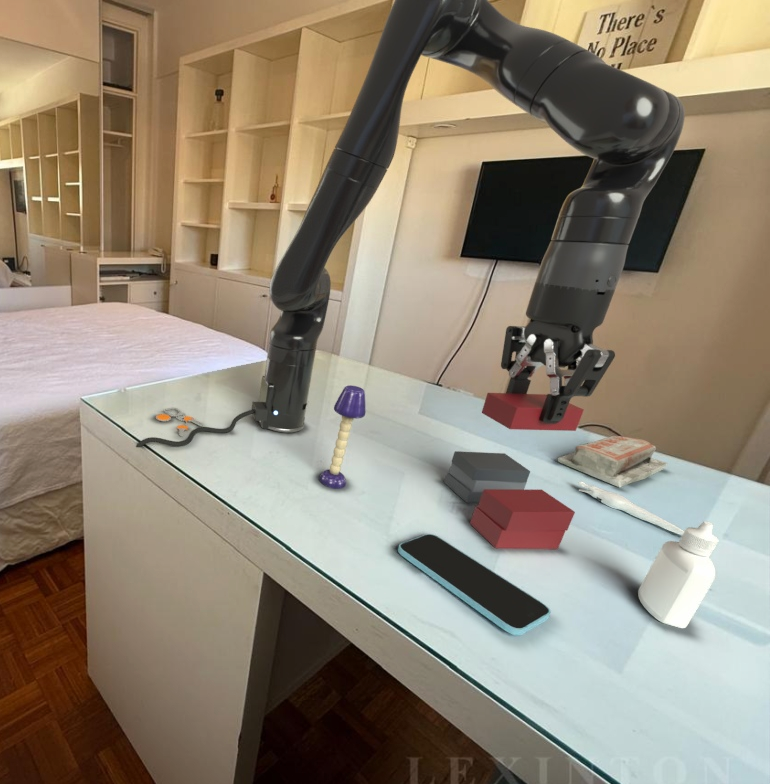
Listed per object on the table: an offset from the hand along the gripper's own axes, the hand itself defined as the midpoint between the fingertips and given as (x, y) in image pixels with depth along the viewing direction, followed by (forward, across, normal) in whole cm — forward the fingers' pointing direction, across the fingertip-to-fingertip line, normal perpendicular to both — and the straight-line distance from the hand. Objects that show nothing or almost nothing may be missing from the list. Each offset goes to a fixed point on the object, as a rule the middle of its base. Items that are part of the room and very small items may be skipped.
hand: (530, 412), depth 60 cm
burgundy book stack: (+18, +2, +1) cm, 18 cm away
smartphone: (+18, +11, -12) cm, 24 cm away
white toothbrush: (+18, -3, +25) cm, 31 cm away
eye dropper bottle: (+18, +15, +9) cm, 26 cm away
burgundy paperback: (+1, 0, 0) cm, 1 cm away
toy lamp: (+18, -11, -20) cm, 29 cm away
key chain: (+17, -33, -44) cm, 58 cm away
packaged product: (+18, -18, +37) cm, 46 cm away
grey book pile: (+18, -9, +4) cm, 20 cm away
